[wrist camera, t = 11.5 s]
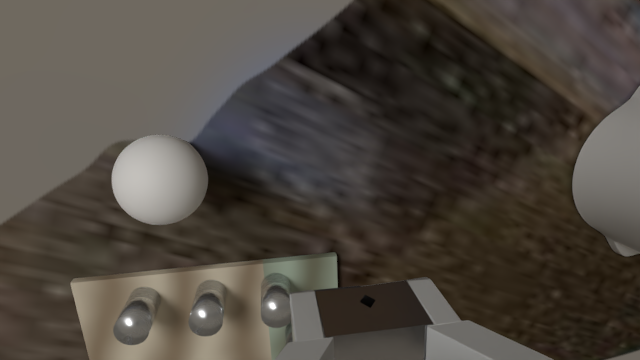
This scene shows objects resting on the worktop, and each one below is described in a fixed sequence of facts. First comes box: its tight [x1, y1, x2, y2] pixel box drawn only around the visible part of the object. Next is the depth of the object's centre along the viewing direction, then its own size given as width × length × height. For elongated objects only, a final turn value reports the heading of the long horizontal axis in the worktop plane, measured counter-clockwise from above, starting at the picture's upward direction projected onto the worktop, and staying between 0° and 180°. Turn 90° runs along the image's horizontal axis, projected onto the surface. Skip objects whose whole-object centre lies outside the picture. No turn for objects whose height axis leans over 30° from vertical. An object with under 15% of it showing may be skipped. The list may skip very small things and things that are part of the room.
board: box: [70, 252, 338, 360], centre depth 42 cm, size 24×16×1 cm, turn 92°
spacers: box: [113, 273, 291, 345], centre depth 39 cm, size 18×14×4 cm
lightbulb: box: [112, 135, 208, 225], centre depth 31 cm, size 6×6×11 cm
